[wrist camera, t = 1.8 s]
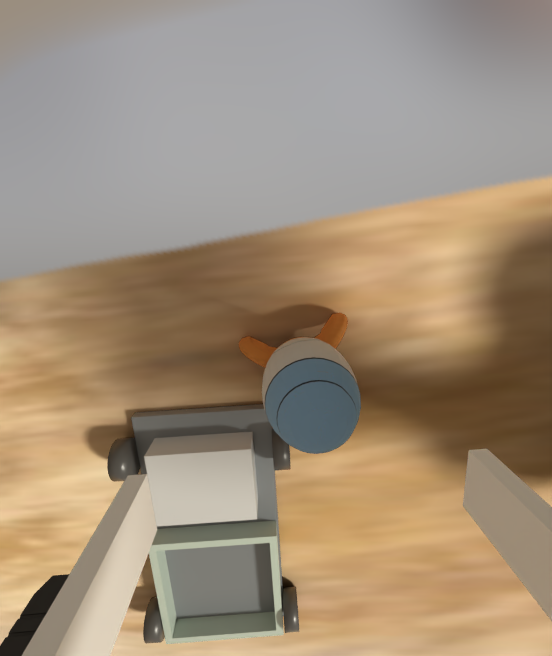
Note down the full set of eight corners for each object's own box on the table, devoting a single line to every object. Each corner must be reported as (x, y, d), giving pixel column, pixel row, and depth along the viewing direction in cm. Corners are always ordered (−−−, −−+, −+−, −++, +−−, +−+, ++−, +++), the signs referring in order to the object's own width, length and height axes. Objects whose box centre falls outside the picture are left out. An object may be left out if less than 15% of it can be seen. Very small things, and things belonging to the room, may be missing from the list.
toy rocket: (328, 402, 35) (322, 526, 21) (237, 368, 36) (171, 466, 22) (366, 317, 31) (389, 399, 17) (263, 280, 32) (204, 331, 18)
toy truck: (285, 402, 34) (288, 422, 30) (296, 606, 40) (299, 644, 37) (119, 413, 33) (100, 435, 29) (158, 616, 40) (147, 655, 36)
